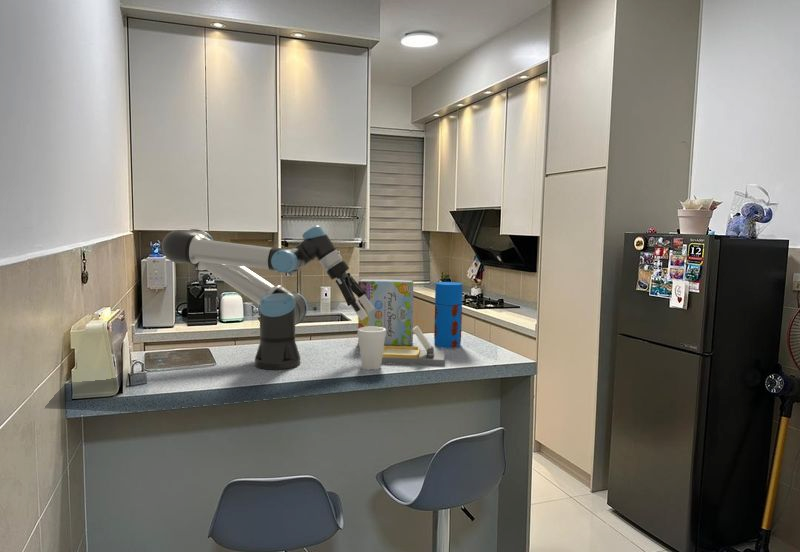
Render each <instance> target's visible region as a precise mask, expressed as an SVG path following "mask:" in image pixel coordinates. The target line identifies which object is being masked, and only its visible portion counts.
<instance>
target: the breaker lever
mask: <svg viewBox="0 0 800 552" xmlns="http://www.w3.org/2000/svg"><path fill="white" fill-rule="evenodd" d="M413 334H414V335H415V336H416V337H417V339H418V340H419V343H421V345H422V347H423V348H424V350H426V351H427V354H428V353H431V354H433V352H434V350H435V349H434V346H433V345H432V344H431V343H430V341H429V340H428V339H427V338H426V336H425V334H424V333H423V332H422V330H421V328H420V327H419V325H416V326H413Z"/></svg>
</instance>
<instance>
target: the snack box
mask: <svg viewBox="0 0 800 552" xmlns="http://www.w3.org/2000/svg"><path fill="white" fill-rule="evenodd" d="M357 283H358V284H359V285H360V287H361V288H362V289H363V290H364V291H365V292H366V293H365V296H366V297H367V299H368V300H369V302H370V303H371V304H372V306H373V307H374V309H373V310H372V311H370V312H369V313H368V312H367V311H366V309H365V308H364V306H363V305H362V303H361V302H360V300H359V299H358V298H360V297H358V296H357V299H358V300H357V301H358V302H359V304H360V305H361V307H362V308H363V310H364V311H365V312H366V314H367V315H368V316H367V317H366V318H364V319H363V320H360V318H359V317H358V316H357V320H358V323H357V324H358V326H357V327H358V328H361V327H382V328H385V329H386V337H385V342H384V345H385V346H411V345H412V343H413V342H414V341H413V340H414V337H413V336H414V332H413V328H414V280H410V279H408V280H407V279H406V280H405V279H404V280H402V279H361V280H358V282H357ZM358 328H357V329H358ZM357 339H358V338H357ZM357 342H358V345H359V339H358V341H357Z"/></svg>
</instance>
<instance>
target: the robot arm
mask: <svg viewBox="0 0 800 552" xmlns="http://www.w3.org/2000/svg"><path fill="white" fill-rule="evenodd" d="M302 238H303V240H302V241H301V242H300V243H298V244H297V245H296V246H294V247H292V248H288V249H287V248H278V247H269V246H260V245H253V244H243V243H237V242H236V243H235V242H227V241H218V240H214V239H213V237H212V235H210V234H209V233H208V232H206V231H205V230H201V229H198V228H197V229H196V228H195V229H194V228H191V229H177V230H172V231H170V232H169V233H167V234H166V235H165V237H164V238H163V240H162V243H161V251H162V253H163V254H164V256H165V258H166V259H167V260H169V261H170V262H172V263H175V264H189V265H190V266H192V267H194V268H196V269H197V270H198V271H208V272H209V273H211V274H212V275H213V276H215V277H217V279H219V280H221V281H223V282H224V283H225V284H228V285H229V286H230V287H232V288H233V289H235V290H236V291H238V292H239V293H241V294H242V295H244V296H245V297H247V298H248V299H250V300H251V301H253V302H255V303H256V304H257V305H259V307H258V308H259V309H258V310H259V345H258V347H257V351H256V354H255V357H254V366H255V367H256V368H259V369H263V370H286V369H291V368H295V367H298V366H299V365H301V355H300V351H299V349H298V346H297V344H296V342H297V341H296V325H299V324H300V323H302V321H303V320H304V319H305V317H306V315H307V313H308V309H309V308H308V307H309V306H308V302H307V299H305V297H304V296H303V295H301V294H300V293H298V292H296V291H295V292H294V291H291V290H289V289H287V288H286V287H285V286H283V285H281V284H278V285H274V284H272V283H270V282H269V281H268V280H266V279H265V278H263V277H262V276H260V275H259V274H257V273H255V272H254V271H252V270H251V269H249V268H252V269H261V270H269V271H277V272H278V273H284V274H288V275H293V274H295V273H296V272H298V271H300V270H301V269H302V268H304V267H305V266H306V265H308V264H309V263H311V262H312V261H313V260H315V259H317V261H318V262H319V263H320V265H321V266H322V268H323V269H324V270H325V271H326V274H327V275H328V277H330V279H331V280H334V279H335V283H336V285H337V286H338V288H339V290H340V293H341V294H342V296H343V299H344V300H345V303H346V305H347V307H349V306H351V308H352V309H353V311H354V312H355V314H356V316H357V318H358V317H359V318H360V320H363V319H364V318H366V317H367V316H368V315H367V314H366V312H365V311H364V310H363V308H362V307H361V305H360V304H359V302H358V300H357V299H359V300H360V302H361V303H362V305H363V306H364V308H365V309H366V311H367V312H368V313H369V312H370V311H372V310H373V309H374V307H373V306H372V304H371V303H370V302H369V300H368V299H367V297H366V296H365V293H366V292H365V291H364V290H363V289H362V288H361V287H360V285H359V284H358V282H357V281H356V280H355V279H354V277H353V276H352V275H351V272H347V271H348V270H349V269H350V267H349V266H348V264H347V262H346V261H345V260H343V257H342V256H341V251H340V250H337V248H336V246H335V245H334V243H333V241H332V240H331V238H330V237H329V236H328V233H326V232H325V231H324V229H323V228H322V226H320V225H314V226H312V227H311V228H309V229H307V230H306V231H305V232H303V233H302ZM354 294H355V295H354ZM355 296H357V299H356V297H355ZM358 297H360V298H358Z"/></svg>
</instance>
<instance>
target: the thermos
mask: <svg viewBox="0 0 800 552" xmlns="http://www.w3.org/2000/svg"><path fill="white" fill-rule="evenodd" d="M463 289H464V288H463V283H462V282H453V281H440V282H438V281H437V282H436V283H435V292H434V293H435V294H434V326H433V327H434V328H433V329H434V331H433V332H434V333H433V336H434V337H433V339H434V341H433V342H434V346H435V347H438V348H441V347H443V349H455V348H460V347H461V346H462V345H461V343H462V327H463V326H462V318H463V291H464V290H463Z"/></svg>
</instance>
